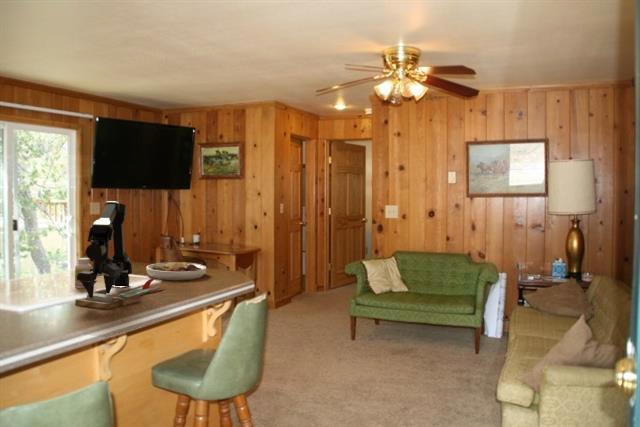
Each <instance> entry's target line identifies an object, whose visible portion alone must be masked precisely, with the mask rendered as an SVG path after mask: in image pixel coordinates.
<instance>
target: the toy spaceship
mask: <svg viewBox="0 0 640 427" xmlns="http://www.w3.org/2000/svg"><path fill="white" fill-rule="evenodd" d="M155 280H156V278H150V279H148V280H146V281H145V282H144V284H142V285H138V286H136V287H134V288H133V289H132V290H128V291H125V292H122V293H119V294H118V298H124V297H125V296H129V295H133V294H136V293H138V294H140V296H143V295H145V294H147V293H150V294H154V293H157V292H160V291H162V290H164V289H167V287H161V286H157V287H150V285H151V283H152V282H154V281H155Z"/></svg>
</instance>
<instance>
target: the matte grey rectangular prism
mask: <svg viewBox="0 0 640 427" xmlns="http://www.w3.org/2000/svg"><path fill="white" fill-rule="evenodd" d="M86 297H87V300H90V301H97V302H104V303H107V302H110V301H113V297H114V295H111V294H98V293H93V298H90V297H89V295H87V294H86Z"/></svg>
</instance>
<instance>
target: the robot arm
mask: <svg viewBox="0 0 640 427" xmlns="http://www.w3.org/2000/svg"><path fill="white" fill-rule="evenodd" d="M128 209H129V208H128V206H127V205H126V204H125V203H121V202H119V201H115V200H114V201H113V200H110V201H109V200H108V201H105V203H104V208H103V211H102V213H101V216H100V217H99V219H97V220H95V221H94V222H93V224H92V225H91V226H90V228H89V232H88V237H87V243H88V242H89V243H91V244H89V245H88V246H87V247H86V248H85V256H86V258H89V262H92V268H91V269H90V272H87V271H85V272H80V273H78V274H77V280H79V282H81V283H82V284H83V286H84V287H85V288H84V290H85V291H86V294H88V295H89V297H90V298H93V291H94V290H95V289H94V288H95V284H96V283H97V282H98V281H97V280H96V279H97V278H98V277H103V281H104V289H106V292H107V295H110V293H111V290H112V288H113V287H112V285H115V286H128V287H130V286H129V285H130V275H131V274H133V266H132V265H133V264H132V263H131V260H130V257H129V254H128V253H127V252H126V250H125V231H124V230H125V229H124V221H125V220H126V218H127V215H128V213H129V210H128ZM111 241H113V255H112V257H110V243H111Z"/></svg>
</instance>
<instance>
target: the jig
mask: <svg viewBox="0 0 640 427" xmlns="http://www.w3.org/2000/svg"><path fill="white" fill-rule="evenodd" d="M93 293H98V294H106V295H108V293H107V292H106V288H103V289H102V288H101V289H99V290H95V291H93ZM87 295H88V293H86V297H82V298H76V299H74V300H75V303H74V304H75V306H82V307H89V308H96V309H102V310H103V309H104V310H109V309H112V308H115V307H118V306H122V305H123V306H124V305H125V306H128V305H131V304H135V303H137V302H140V300H141V298H140V297H141V295H140V294H138V293H136V294H133V295H129V296H125V297H124V298H121V297H119V296H118V297H116V296H113V301H110V302H107V303H104V302H97V301H90V300H87ZM134 302H135V303H134ZM127 304H128V305H127ZM125 306H124V307H125Z"/></svg>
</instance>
